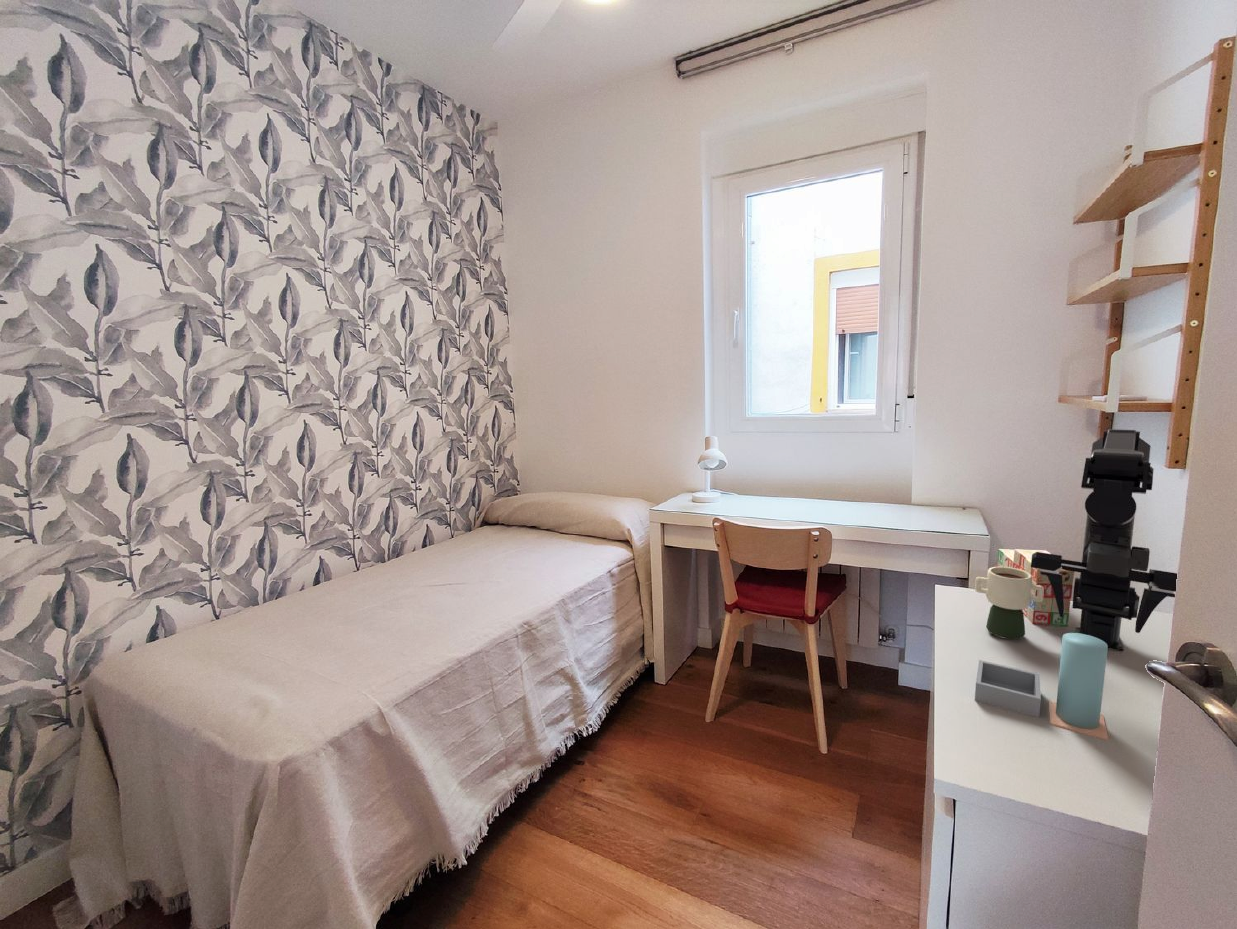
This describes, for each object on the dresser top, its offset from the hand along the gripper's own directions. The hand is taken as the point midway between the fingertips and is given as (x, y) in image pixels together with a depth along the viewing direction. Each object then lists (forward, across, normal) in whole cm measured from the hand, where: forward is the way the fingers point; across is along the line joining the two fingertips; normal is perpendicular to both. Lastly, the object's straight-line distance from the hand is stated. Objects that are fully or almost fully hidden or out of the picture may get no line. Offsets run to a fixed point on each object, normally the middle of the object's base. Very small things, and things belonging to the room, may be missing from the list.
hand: (1098, 624), depth 87 cm
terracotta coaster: (+14, -2, -8) cm, 17 cm away
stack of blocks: (+2, -10, +35) cm, 37 cm away
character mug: (+7, -12, +17) cm, 22 cm away
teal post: (+14, -2, -8) cm, 16 cm away
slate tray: (+14, -10, -7) cm, 19 cm away
